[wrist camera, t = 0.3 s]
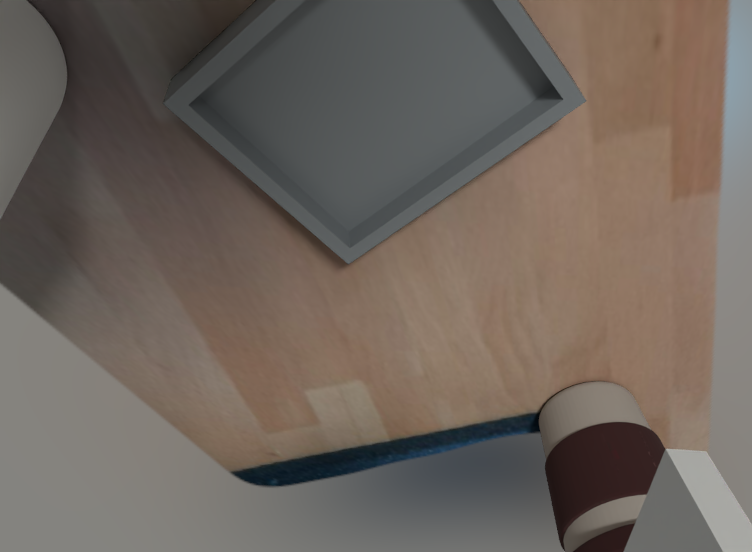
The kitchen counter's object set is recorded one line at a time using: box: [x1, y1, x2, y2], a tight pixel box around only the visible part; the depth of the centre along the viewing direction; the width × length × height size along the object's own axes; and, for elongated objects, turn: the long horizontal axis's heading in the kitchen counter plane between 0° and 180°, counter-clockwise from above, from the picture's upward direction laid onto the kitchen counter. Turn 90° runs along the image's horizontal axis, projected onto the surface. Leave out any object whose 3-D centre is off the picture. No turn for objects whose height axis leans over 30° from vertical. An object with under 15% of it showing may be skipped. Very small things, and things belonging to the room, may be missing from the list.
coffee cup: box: [539, 381, 665, 552], centre depth 48 cm, size 10×10×15 cm
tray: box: [163, 0, 586, 264], centre depth 35 cm, size 15×13×2 cm
